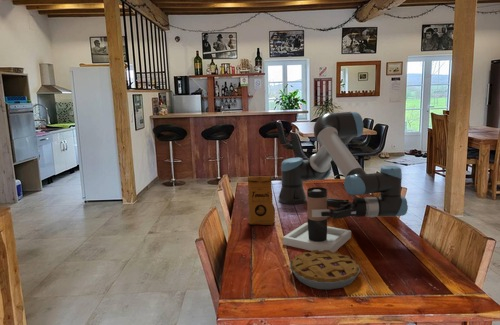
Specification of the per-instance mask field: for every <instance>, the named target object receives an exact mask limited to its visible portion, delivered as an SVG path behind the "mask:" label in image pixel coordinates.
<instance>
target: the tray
mask: <svg viewBox="0 0 500 325" xmlns="http://www.w3.org/2000/svg"><path fill="white" fill-rule="evenodd" d="M351 238H352V231H351V230H350V229H345V228H339V227H333V226H329V225H327V239H326V240H325V241H322V242H314V241H311V240H309V236H308V221H307V222H305V223H302V225H300V226H298V227H297V228H295V229H293V230H291V231H290V232H289V233H287V234H285V235H284V236H283V237H282V245H284V246H288V247H293V248H297V249H302V250H305V251H310V252H312V251H313V250H318V251H324V250H329V251H330V252H338V249H339V248H342V246H343V245H344V244H346V243H347V242H348V241H349V240H350V239H351Z"/></svg>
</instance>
